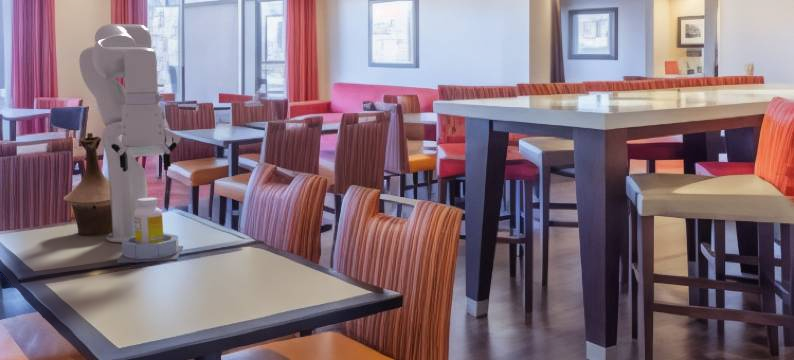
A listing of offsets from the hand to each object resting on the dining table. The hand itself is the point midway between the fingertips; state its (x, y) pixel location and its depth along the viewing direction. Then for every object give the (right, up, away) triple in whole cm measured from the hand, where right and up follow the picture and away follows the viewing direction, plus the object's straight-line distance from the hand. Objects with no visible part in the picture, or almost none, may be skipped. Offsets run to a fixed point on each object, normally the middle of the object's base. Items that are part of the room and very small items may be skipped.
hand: (145, 170), depth 201 cm
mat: (0, -21, +3) cm, 21 cm away
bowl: (0, -21, +3) cm, 21 cm away
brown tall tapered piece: (-23, -17, +31) cm, 42 cm away
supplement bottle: (0, -20, +3) cm, 20 cm away
